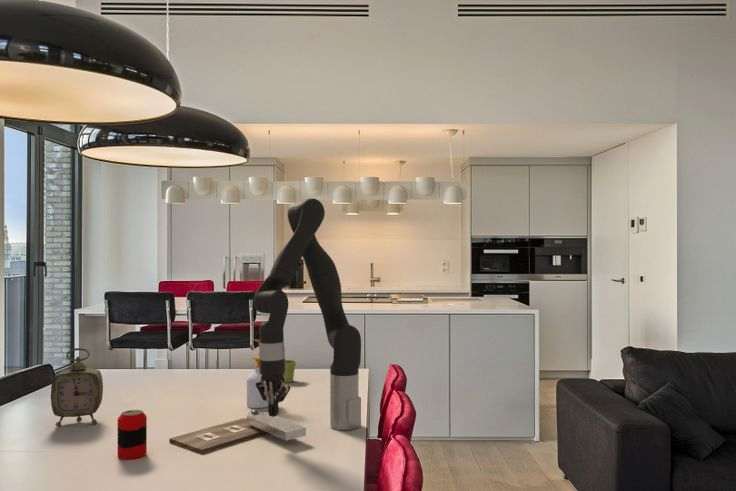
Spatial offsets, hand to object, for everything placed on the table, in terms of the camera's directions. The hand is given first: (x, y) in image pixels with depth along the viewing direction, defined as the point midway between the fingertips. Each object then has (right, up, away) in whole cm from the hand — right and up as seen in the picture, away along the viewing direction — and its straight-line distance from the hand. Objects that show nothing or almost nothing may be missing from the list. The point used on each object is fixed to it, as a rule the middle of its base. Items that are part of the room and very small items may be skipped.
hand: (273, 415), depth 176 cm
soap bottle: (-12, -9, +45) cm, 47 cm away
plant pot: (-8, -9, +85) cm, 86 cm away
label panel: (-16, -9, +8) cm, 20 cm away
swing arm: (-2, -6, +9) cm, 11 cm away
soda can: (-38, -9, -9) cm, 40 cm away
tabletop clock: (-68, -9, +22) cm, 72 cm away
